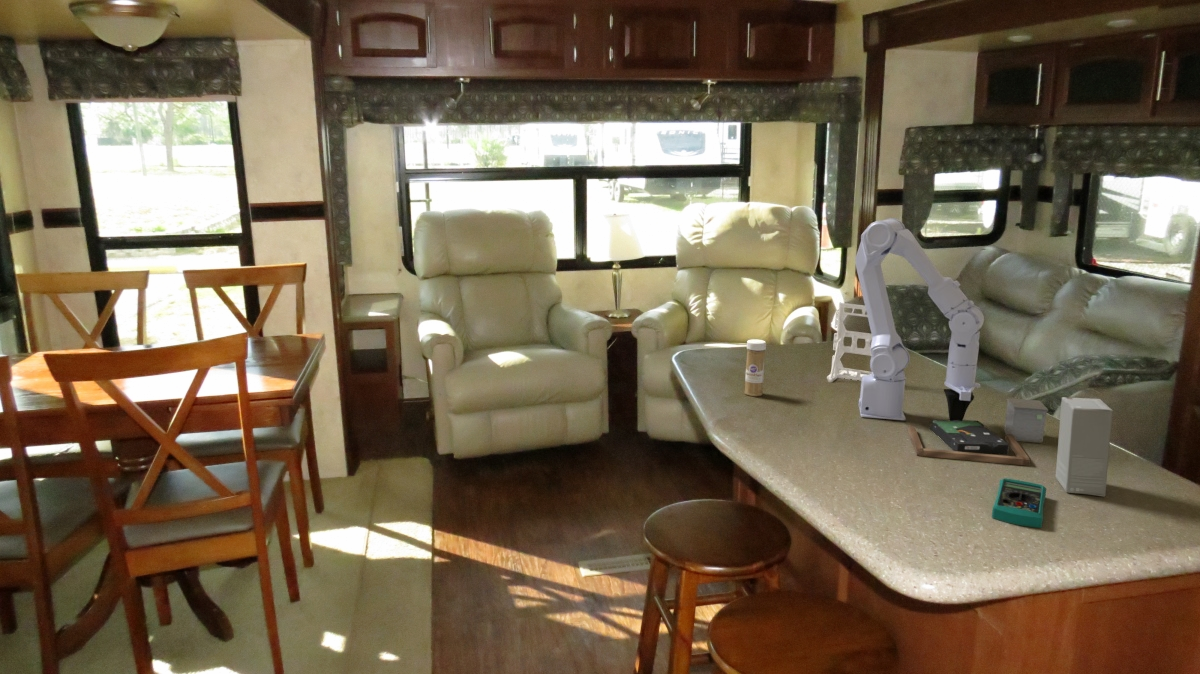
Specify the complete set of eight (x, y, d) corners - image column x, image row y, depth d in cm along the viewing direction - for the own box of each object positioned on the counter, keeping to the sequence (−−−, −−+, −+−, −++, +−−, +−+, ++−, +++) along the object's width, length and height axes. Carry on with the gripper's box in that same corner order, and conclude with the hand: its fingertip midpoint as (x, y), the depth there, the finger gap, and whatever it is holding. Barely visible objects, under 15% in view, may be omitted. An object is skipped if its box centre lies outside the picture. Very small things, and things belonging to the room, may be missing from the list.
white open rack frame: (893, 378, 217) (900, 303, 213) (880, 390, 206) (887, 312, 201) (839, 369, 225) (845, 297, 220) (823, 381, 213) (829, 305, 209)
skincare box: (1105, 498, 143) (1119, 411, 139) (1060, 492, 145) (1072, 407, 141) (1092, 480, 151) (1105, 397, 147) (1049, 475, 153) (1061, 393, 149)
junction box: (1009, 440, 171) (1014, 407, 169) (1002, 430, 177) (1006, 398, 175) (1043, 443, 169) (1048, 409, 168) (1035, 433, 176) (1039, 400, 174)
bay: (916, 455, 162) (917, 449, 162) (907, 430, 176) (908, 425, 176) (1029, 465, 157) (1030, 460, 157) (1011, 439, 171) (1011, 434, 171)
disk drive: (1008, 457, 163) (976, 431, 178) (1010, 444, 162) (978, 419, 177) (956, 456, 163) (928, 430, 178) (958, 443, 163) (929, 418, 177)
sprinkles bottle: (744, 396, 200) (747, 342, 197) (744, 391, 204) (746, 338, 201) (763, 397, 199) (766, 343, 196) (762, 391, 203) (765, 339, 200)
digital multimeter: (990, 522, 134) (992, 505, 134) (998, 490, 147) (1000, 475, 146) (1040, 533, 131) (1043, 515, 130) (1044, 499, 143) (1047, 483, 143)
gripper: (989, 372, 167) (982, 435, 171) (975, 355, 181) (968, 414, 184) (952, 370, 169) (945, 432, 172) (941, 353, 183) (935, 411, 186)
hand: (955, 423), depth 178 cm, fingers closed
